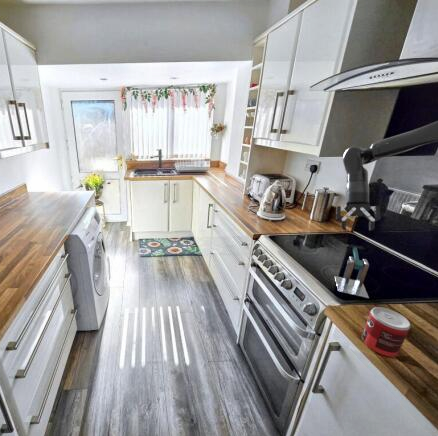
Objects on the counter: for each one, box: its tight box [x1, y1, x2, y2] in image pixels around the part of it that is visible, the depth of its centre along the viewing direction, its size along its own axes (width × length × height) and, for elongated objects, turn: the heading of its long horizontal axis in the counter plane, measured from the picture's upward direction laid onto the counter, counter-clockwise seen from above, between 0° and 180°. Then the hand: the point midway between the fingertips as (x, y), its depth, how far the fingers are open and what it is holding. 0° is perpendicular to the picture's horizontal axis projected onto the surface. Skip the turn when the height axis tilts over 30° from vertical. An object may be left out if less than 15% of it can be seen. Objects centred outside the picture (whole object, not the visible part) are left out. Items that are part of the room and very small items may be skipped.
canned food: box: [361, 306, 411, 359], centre depth 67 cm, size 8×8×11 cm
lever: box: [345, 244, 364, 271], centre depth 93 cm, size 12×5×2 cm, turn 150°
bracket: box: [334, 256, 370, 299], centre depth 91 cm, size 11×9×13 cm
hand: (357, 230), depth 101 cm, fingers open, 8 cm apart
